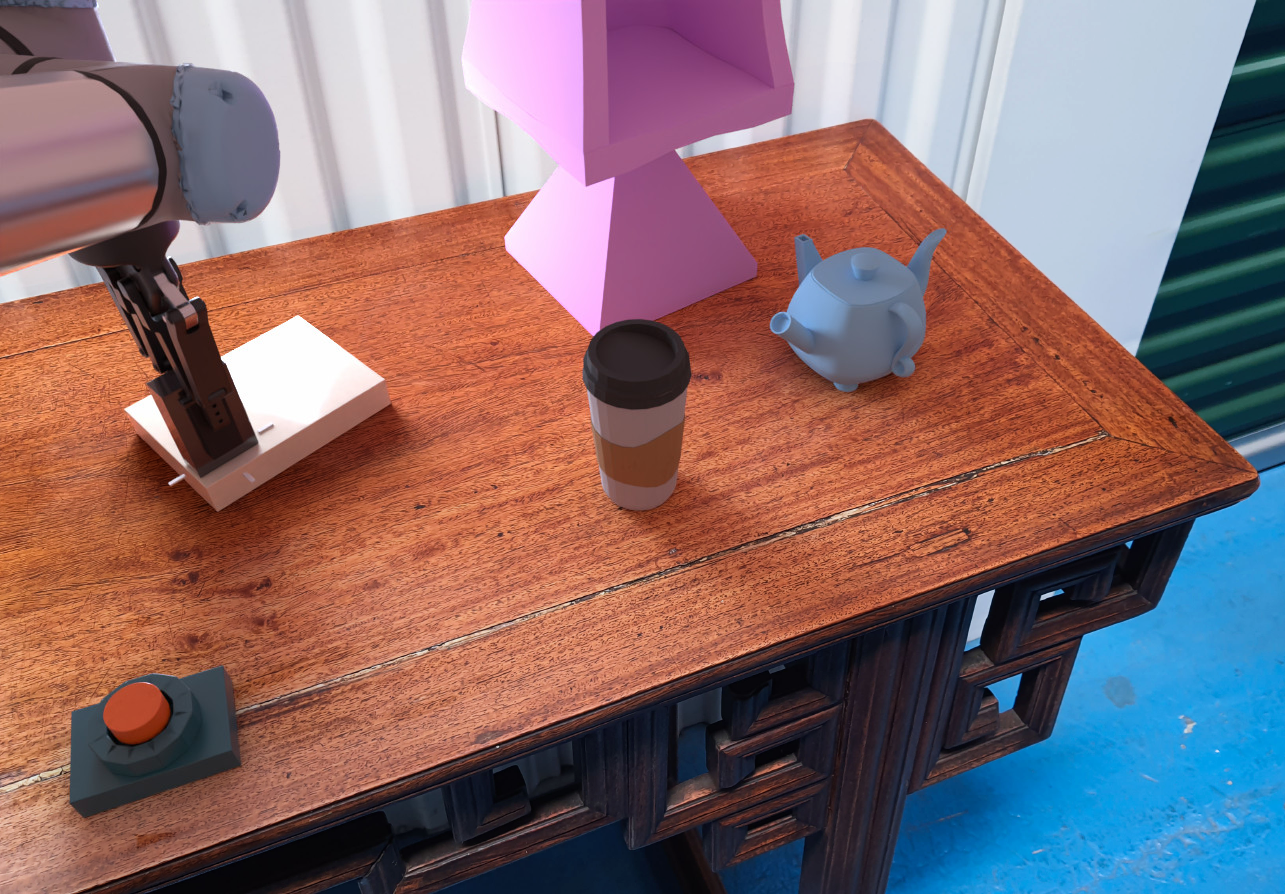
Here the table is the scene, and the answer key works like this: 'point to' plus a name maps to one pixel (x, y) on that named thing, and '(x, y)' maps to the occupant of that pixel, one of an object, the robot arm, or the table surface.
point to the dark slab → (185, 430)
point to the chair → (628, 139)
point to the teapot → (857, 311)
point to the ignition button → (137, 713)
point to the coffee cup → (637, 409)
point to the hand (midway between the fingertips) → (216, 439)
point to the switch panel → (277, 408)
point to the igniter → (155, 744)
